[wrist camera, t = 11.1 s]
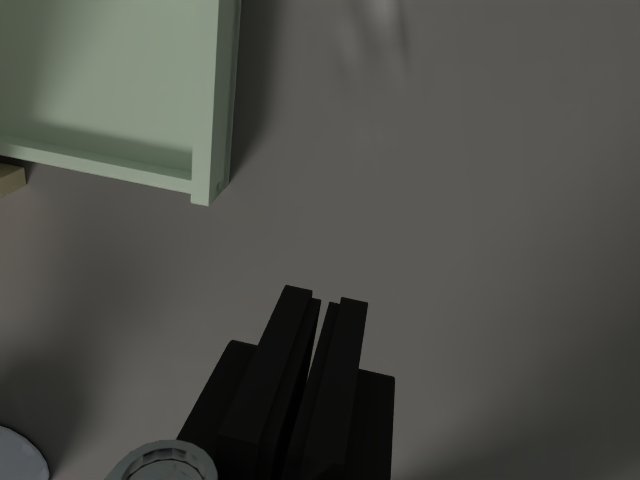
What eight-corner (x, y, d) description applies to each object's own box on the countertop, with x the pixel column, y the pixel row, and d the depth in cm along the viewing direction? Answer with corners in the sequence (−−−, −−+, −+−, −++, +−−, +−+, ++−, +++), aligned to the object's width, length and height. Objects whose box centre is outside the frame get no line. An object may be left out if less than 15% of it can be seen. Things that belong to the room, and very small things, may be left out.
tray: (244, -39, 26) (221, -43, 23) (228, 184, 31) (208, 206, 28) (-121, -100, 27) (-189, -111, 24) (-75, 123, 33) (-126, 137, 30)
